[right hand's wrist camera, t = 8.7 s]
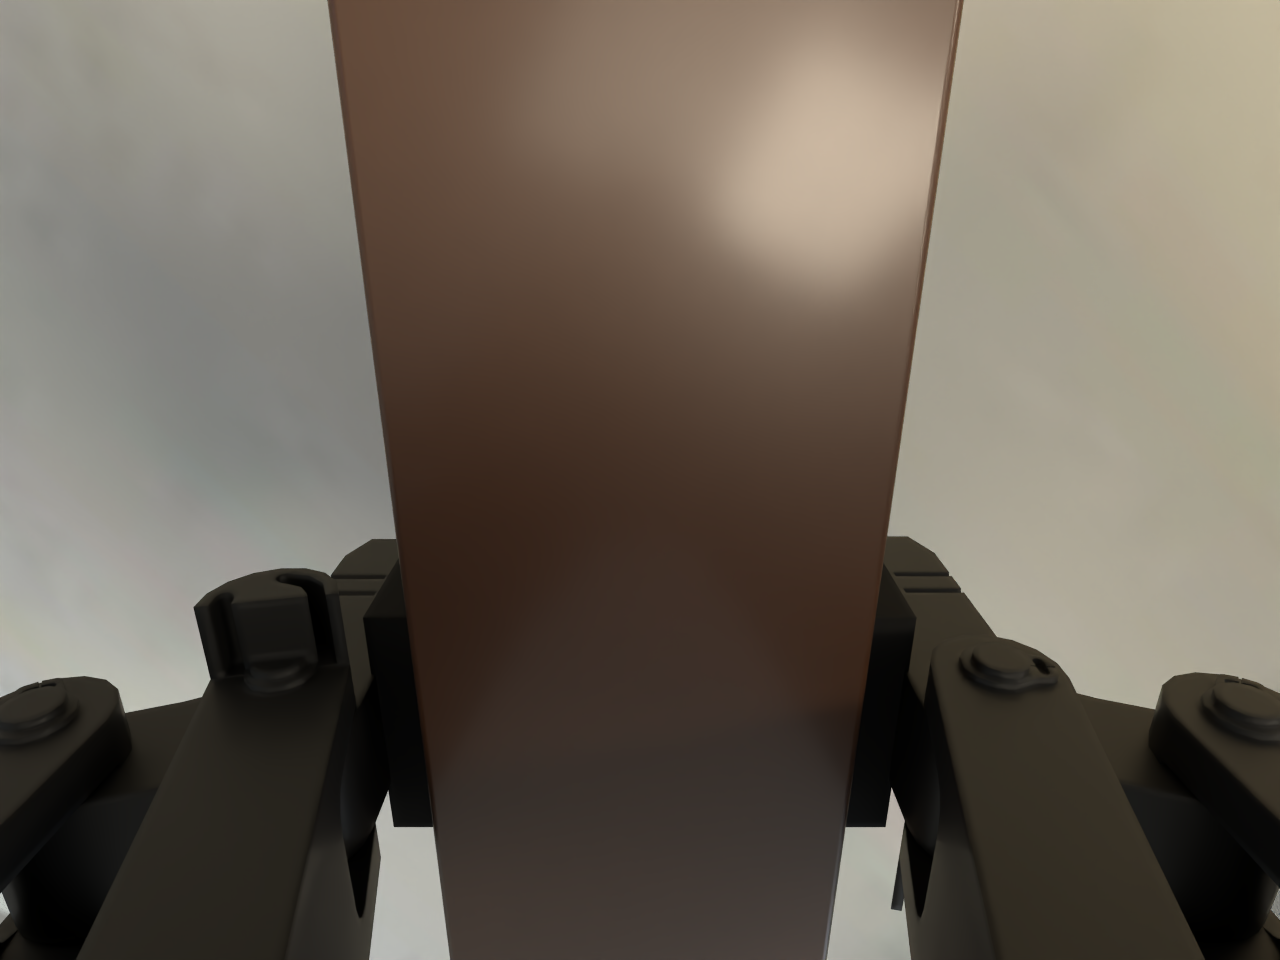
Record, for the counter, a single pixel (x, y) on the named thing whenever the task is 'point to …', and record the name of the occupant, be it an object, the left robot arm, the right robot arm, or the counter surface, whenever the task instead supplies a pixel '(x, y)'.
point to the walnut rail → (642, 438)
